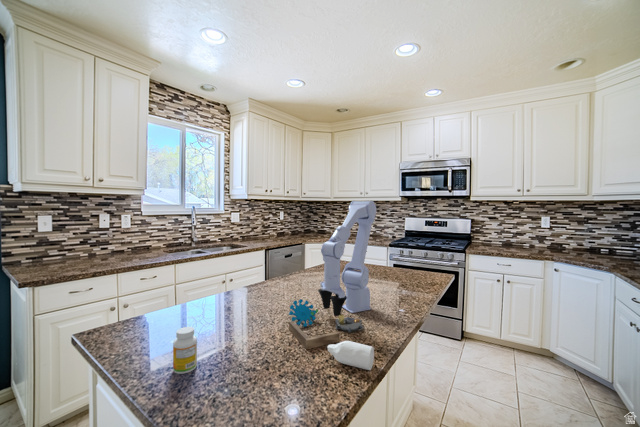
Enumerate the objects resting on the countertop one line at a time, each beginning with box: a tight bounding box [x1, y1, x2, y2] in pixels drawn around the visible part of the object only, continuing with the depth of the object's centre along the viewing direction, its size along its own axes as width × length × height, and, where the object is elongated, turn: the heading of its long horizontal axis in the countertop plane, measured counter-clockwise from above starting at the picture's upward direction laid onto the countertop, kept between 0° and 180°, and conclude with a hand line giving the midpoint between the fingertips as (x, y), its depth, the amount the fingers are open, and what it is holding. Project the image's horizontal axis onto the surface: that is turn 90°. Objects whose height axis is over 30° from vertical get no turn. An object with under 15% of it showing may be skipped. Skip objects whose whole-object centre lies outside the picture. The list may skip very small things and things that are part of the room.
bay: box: [288, 320, 341, 350], centre depth 89 cm, size 11×14×3 cm
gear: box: [288, 298, 319, 328], centre depth 99 cm, size 11×6×10 cm
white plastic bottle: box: [327, 340, 375, 371], centre depth 73 cm, size 6×12×6 cm, turn 66°
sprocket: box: [335, 313, 364, 334], centre depth 95 cm, size 10×9×4 cm
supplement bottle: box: [172, 326, 198, 375], centre depth 70 cm, size 5×5×10 cm
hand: (331, 311), depth 101 cm, fingers open, 7 cm apart
